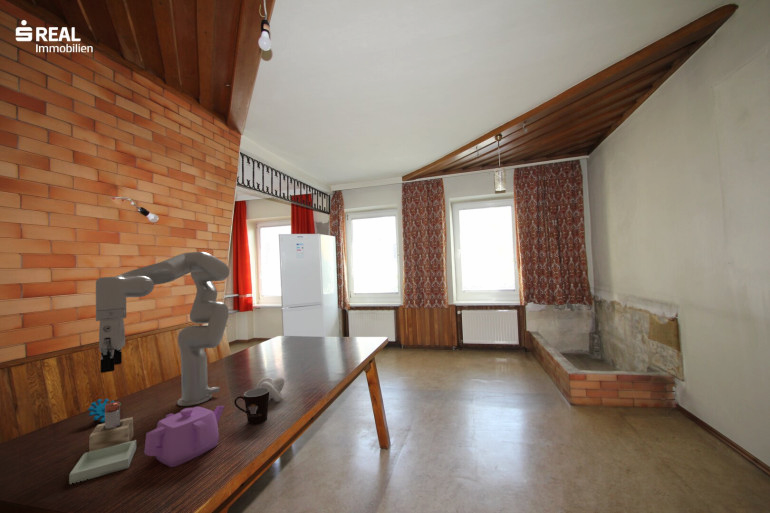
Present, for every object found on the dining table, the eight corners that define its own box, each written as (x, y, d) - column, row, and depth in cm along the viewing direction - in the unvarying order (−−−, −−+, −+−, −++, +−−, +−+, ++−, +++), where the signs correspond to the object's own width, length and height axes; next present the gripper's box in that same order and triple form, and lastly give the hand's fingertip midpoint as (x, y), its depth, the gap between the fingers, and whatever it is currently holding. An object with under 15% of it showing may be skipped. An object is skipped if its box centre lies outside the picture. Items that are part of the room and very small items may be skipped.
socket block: (133, 435, 106) (133, 416, 106) (127, 447, 98) (127, 427, 98) (98, 443, 101) (97, 424, 102) (89, 457, 94) (89, 436, 94)
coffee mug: (275, 416, 114) (274, 389, 115) (256, 428, 106) (256, 398, 107) (252, 412, 119) (251, 385, 120) (232, 422, 111) (232, 394, 112)
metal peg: (121, 441, 102) (120, 400, 103) (118, 446, 99) (118, 404, 100) (106, 444, 100) (106, 403, 101) (103, 449, 97) (103, 407, 98)
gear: (97, 423, 113) (85, 401, 116) (86, 434, 113) (75, 413, 116) (128, 413, 124) (116, 394, 126) (118, 424, 124) (107, 404, 127)
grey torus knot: (273, 393, 138) (272, 372, 138) (293, 397, 132) (292, 375, 133) (251, 403, 128) (250, 381, 128) (272, 408, 122) (271, 384, 123)
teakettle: (140, 474, 84) (139, 427, 85) (167, 441, 100) (167, 402, 101) (210, 461, 88) (209, 416, 89) (225, 432, 105) (224, 395, 105)
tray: (136, 448, 97) (136, 439, 97) (128, 468, 87) (128, 458, 87) (84, 461, 91) (84, 452, 91) (69, 484, 81) (69, 474, 81)
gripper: (120, 315, 96) (120, 372, 95) (131, 311, 111) (131, 360, 110) (87, 318, 93) (87, 377, 92) (103, 313, 108) (103, 364, 107)
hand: (111, 368), depth 101 cm, fingers open, 9 cm apart
